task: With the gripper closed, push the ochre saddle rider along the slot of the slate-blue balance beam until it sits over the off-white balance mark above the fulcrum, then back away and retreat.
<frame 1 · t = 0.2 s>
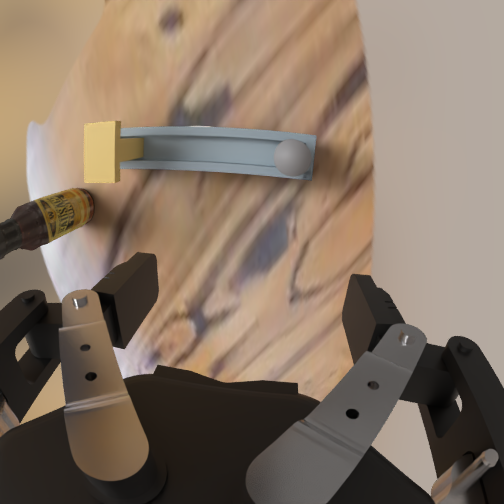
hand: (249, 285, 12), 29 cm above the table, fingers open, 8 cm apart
beam: (208, 146, 38), on the table
sauce bottle: (81, 203, 43), on the table
rider: (115, 149, 30), point 9 cm above the table, slide at 0.0 cm
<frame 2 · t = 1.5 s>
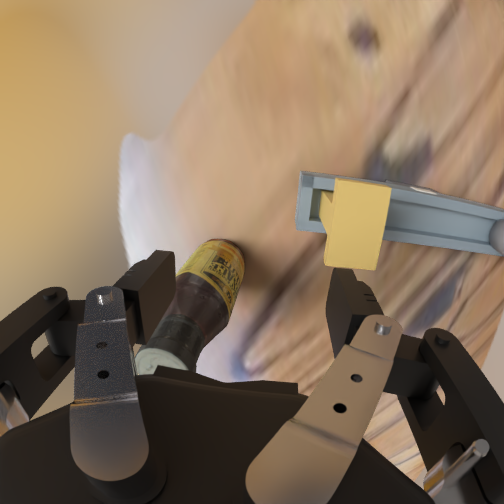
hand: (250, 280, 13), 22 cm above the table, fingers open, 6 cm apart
beam: (405, 205, 32), on the table
sauce bottle: (220, 258, 37), on the table
rider: (348, 214, 24), point 9 cm above the table, slide at 0.0 cm
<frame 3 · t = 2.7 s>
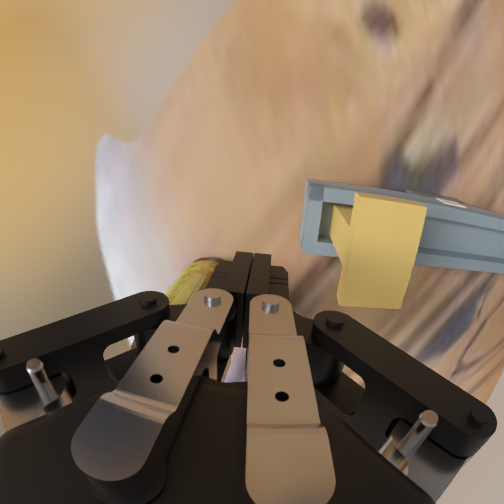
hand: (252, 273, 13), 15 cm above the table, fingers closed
beam: (426, 217, 26), on the table
sauce bottle: (211, 279, 31), on the table
rider: (367, 236, 19), point 9 cm above the table, slide at 0.0 cm
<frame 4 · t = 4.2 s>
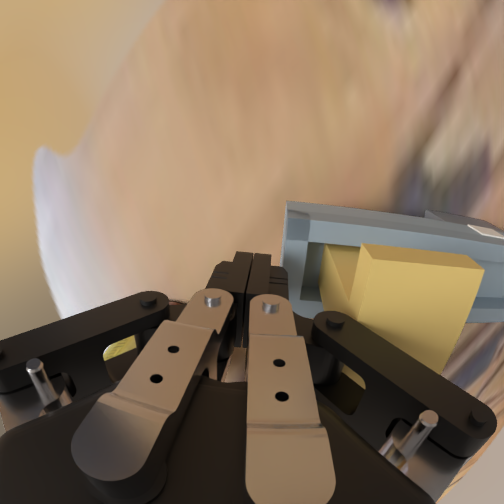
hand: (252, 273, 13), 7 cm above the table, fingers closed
beam: (450, 246, 19), on the table
sauce bottle: (172, 324, 24), on the table
rider: (377, 300, 12), point 9 cm above the table, slide at 0.0 cm
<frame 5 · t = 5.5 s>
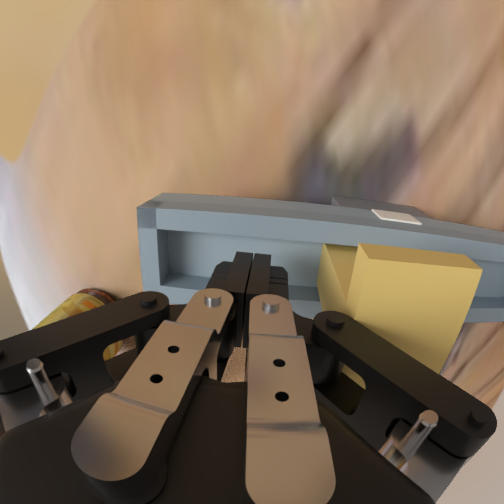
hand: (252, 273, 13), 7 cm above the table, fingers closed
beam: (369, 236, 20), on the table
sauce bottle: (101, 312, 25), on the table
rider: (375, 300, 12), point 9 cm above the table, slide at 6.9 cm, touching hand
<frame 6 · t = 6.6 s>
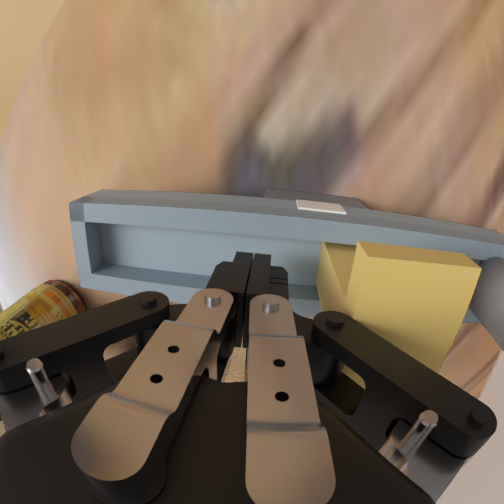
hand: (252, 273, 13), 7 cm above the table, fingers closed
beam: (308, 230, 20), on the table
sauce bottle: (65, 302, 25), on the table
rider: (374, 298, 12), point 9 cm above the table, slide at 11.2 cm, touching hand
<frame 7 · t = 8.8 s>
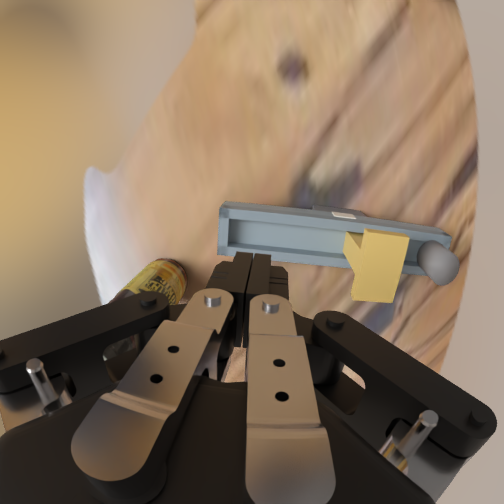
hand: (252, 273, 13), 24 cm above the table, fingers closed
beam: (333, 227, 37), on the table
sauce bottle: (167, 274, 41), on the table
rider: (370, 254, 28), point 9 cm above the table, slide at 11.3 cm
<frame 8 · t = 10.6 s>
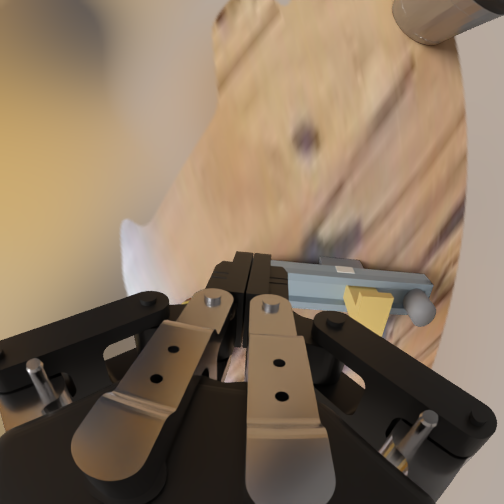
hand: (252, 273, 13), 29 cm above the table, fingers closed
beam: (336, 273, 44), on the table
rider: (364, 305, 36), point 9 cm above the table, slide at 11.3 cm
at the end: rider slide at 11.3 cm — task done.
